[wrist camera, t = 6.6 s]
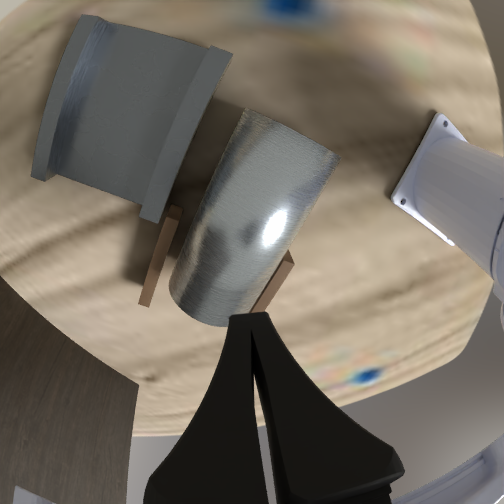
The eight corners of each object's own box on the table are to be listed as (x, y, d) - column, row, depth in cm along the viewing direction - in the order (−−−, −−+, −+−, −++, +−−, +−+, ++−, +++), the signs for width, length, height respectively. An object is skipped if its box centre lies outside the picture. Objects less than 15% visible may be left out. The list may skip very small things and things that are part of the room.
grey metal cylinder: (241, 106, 15) (252, 109, 10) (320, 146, 16) (359, 167, 12) (173, 258, 19) (163, 311, 15) (243, 282, 21) (252, 336, 16)
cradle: (231, 59, 13) (233, 53, 11) (164, 209, 17) (157, 223, 15) (96, 21, 10) (81, 14, 8) (48, 166, 15) (30, 176, 13)
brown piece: (288, 248, 20) (294, 264, 18) (244, 318, 23) (247, 336, 21) (171, 203, 17) (166, 216, 15) (143, 286, 20) (138, 303, 18)
